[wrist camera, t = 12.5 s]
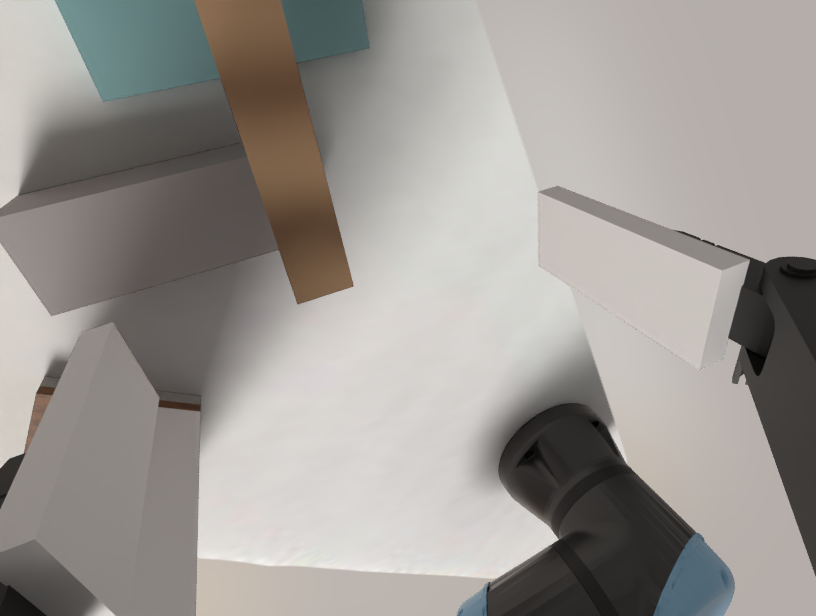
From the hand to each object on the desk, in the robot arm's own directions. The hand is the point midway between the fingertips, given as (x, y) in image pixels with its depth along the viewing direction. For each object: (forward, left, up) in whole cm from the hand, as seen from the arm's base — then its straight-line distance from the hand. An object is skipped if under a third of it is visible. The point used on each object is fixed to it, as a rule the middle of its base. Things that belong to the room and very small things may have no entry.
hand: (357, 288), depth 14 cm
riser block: (-2, +7, -22) cm, 23 cm away
